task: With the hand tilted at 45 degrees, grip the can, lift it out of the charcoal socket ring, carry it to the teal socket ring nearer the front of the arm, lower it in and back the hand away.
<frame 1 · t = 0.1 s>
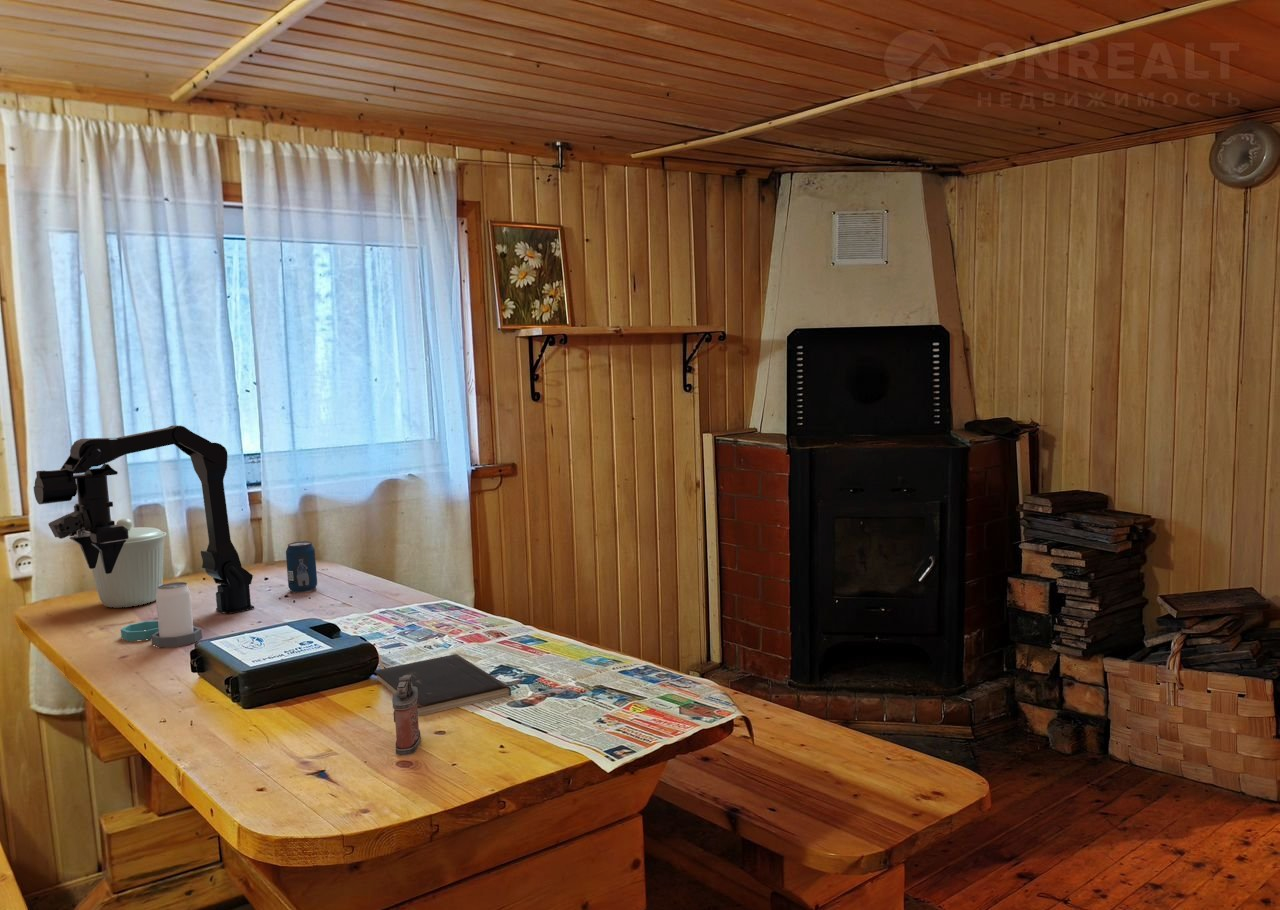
hand: (100, 570, 210), 15 cm above the table, tool pointing down, fingers open, 9 cm apart
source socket: (177, 641, 207), on the table
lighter: (408, 745, 145), on the table
hardcover book: (441, 691, 171), on the table
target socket: (146, 635, 213), on the table
soda can: (303, 590, 250), on the table
canister: (132, 604, 244), on the table
can: (177, 642, 207), resting in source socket
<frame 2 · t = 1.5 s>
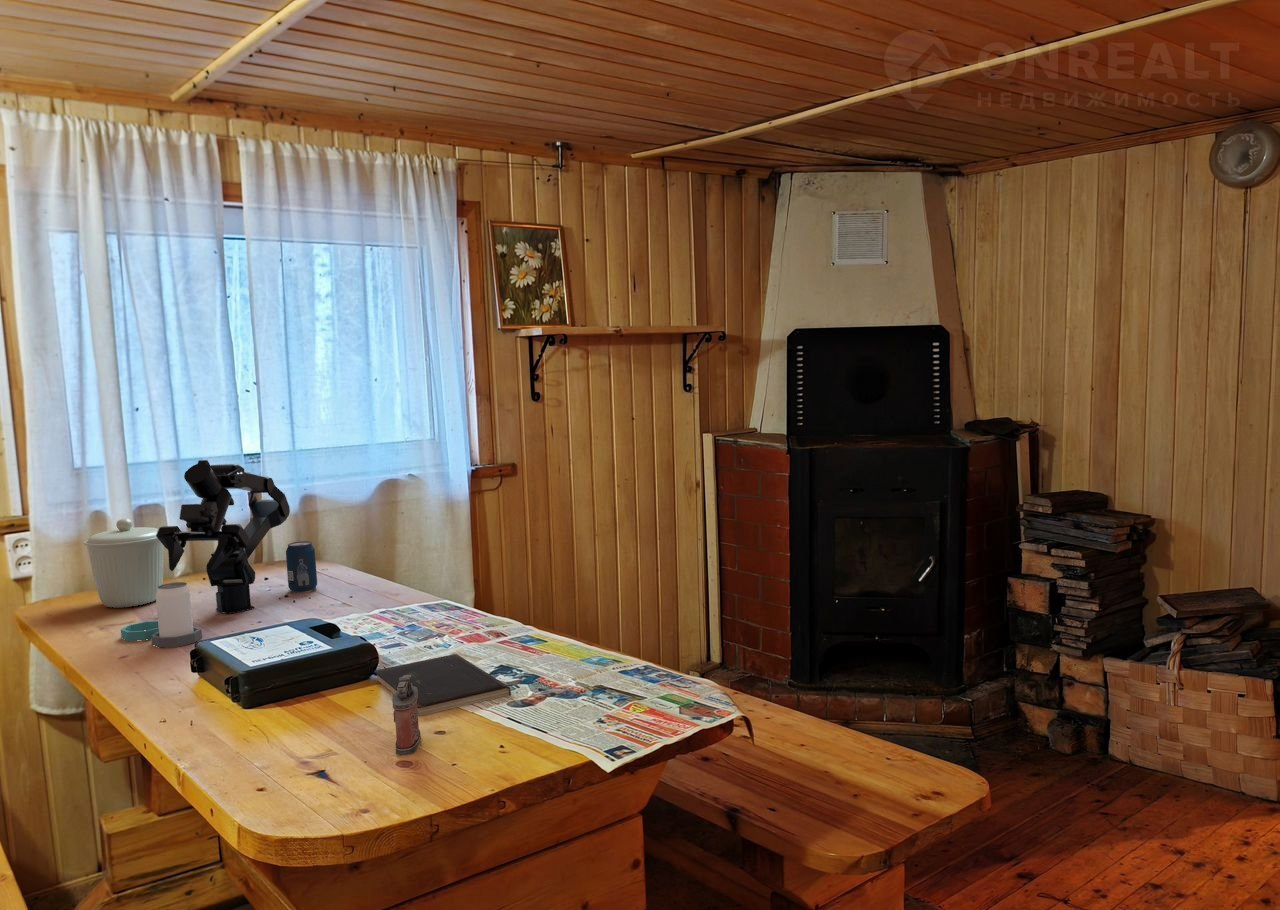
hand: (191, 569, 214), 14 cm above the table, tool tilted 45°, fingers open, 9 cm apart
nothing on the table moved.
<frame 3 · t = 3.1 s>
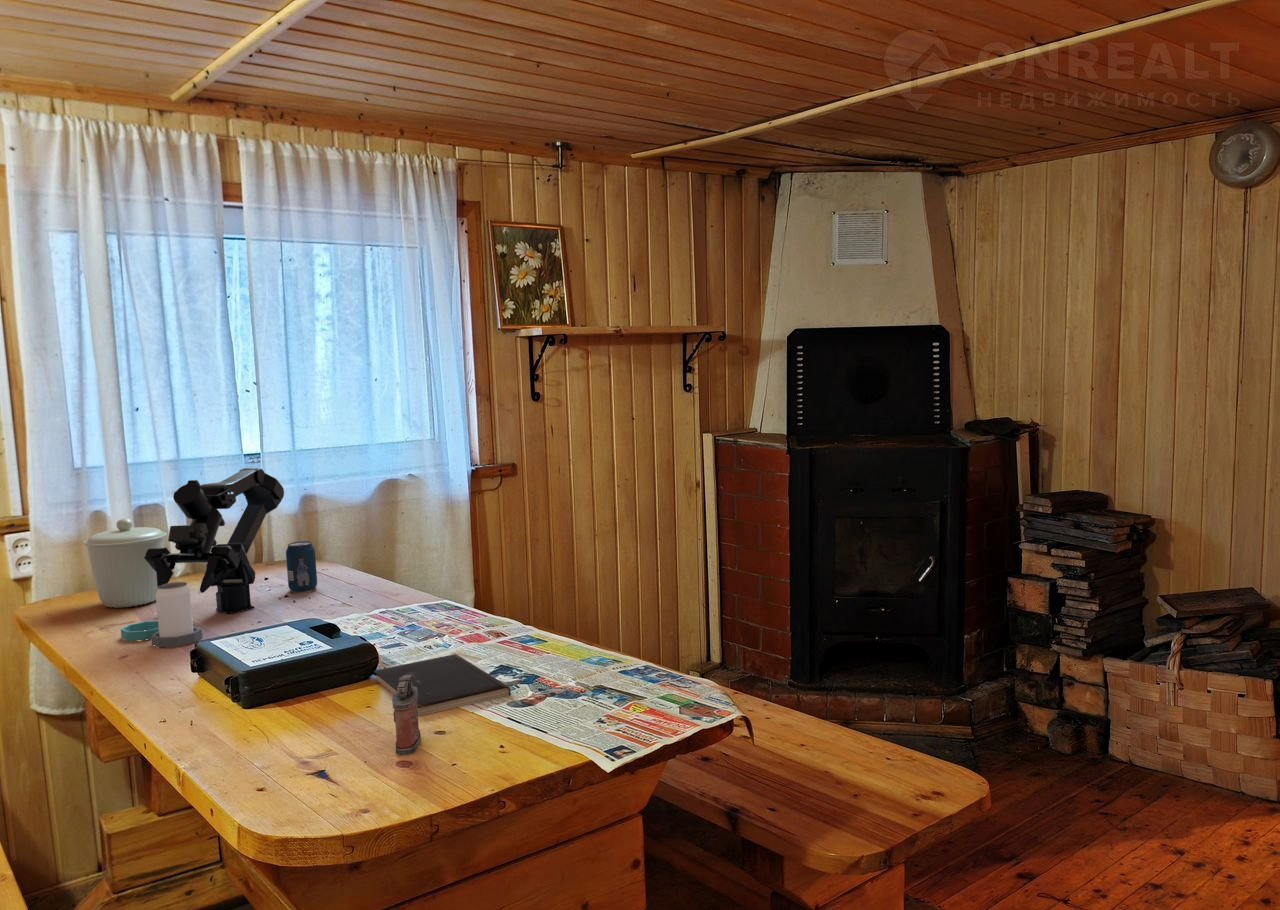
hand: (180, 592, 209), 10 cm above the table, tool tilted 45°, fingers open, 9 cm apart
nothing on the table moved.
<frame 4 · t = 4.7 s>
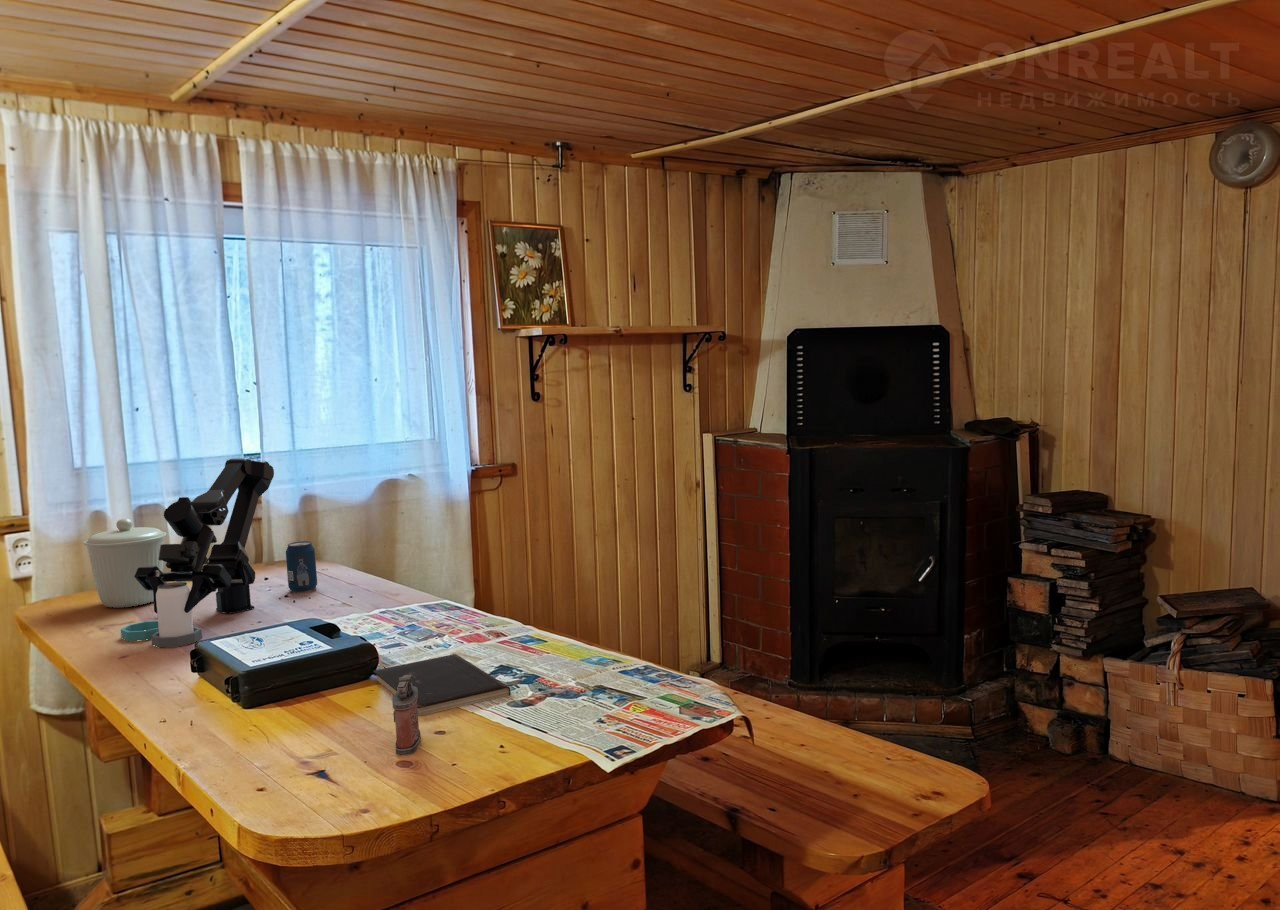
hand: (170, 612, 205), 7 cm above the table, tool tilted 45°, fingers closed on can, 6 cm apart
can: (177, 642, 207), resting in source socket, touching gripper
everything else where it was.
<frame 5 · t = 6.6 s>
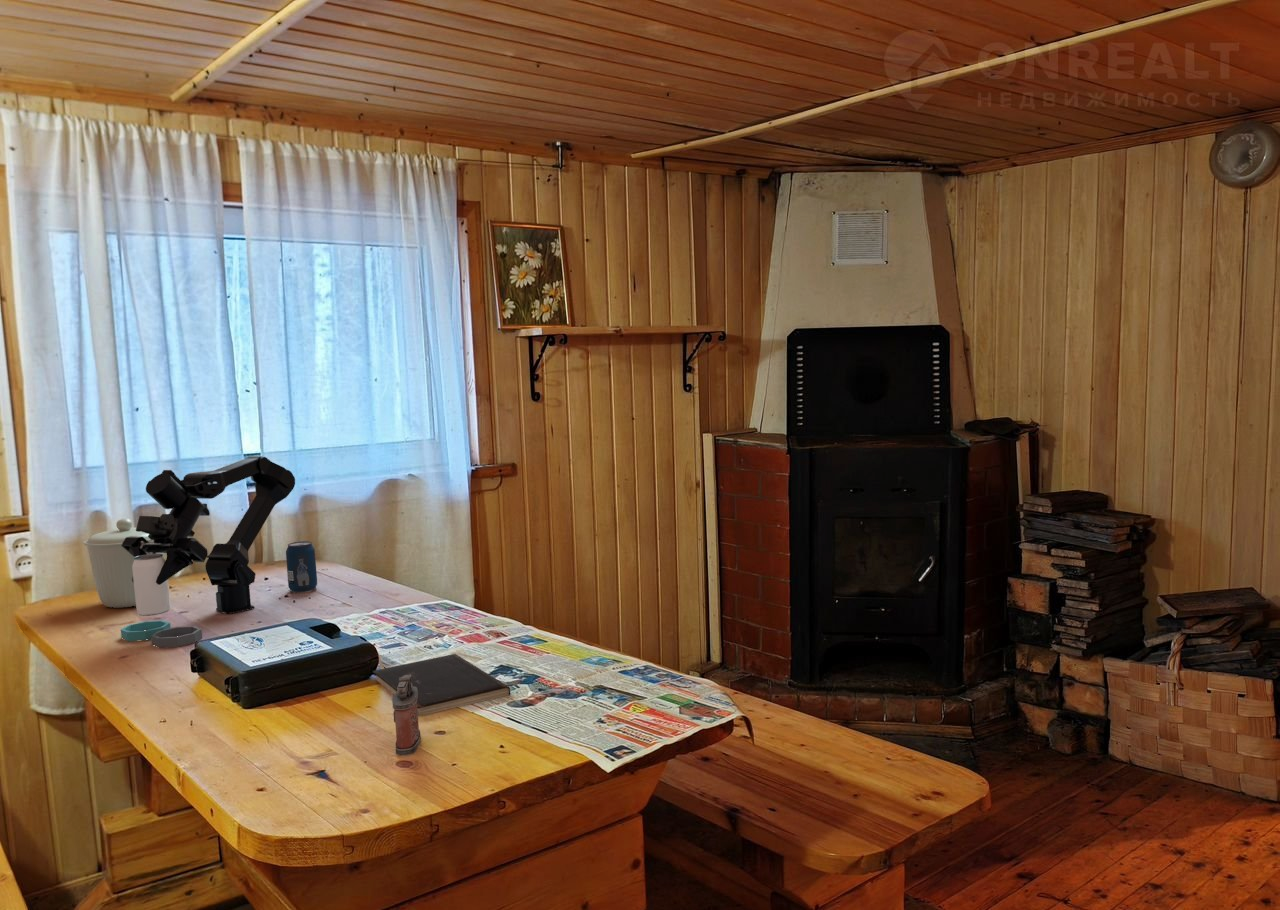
hand: (145, 583, 208), 12 cm above the table, tool tilted 45°, fingers closed on can, 6 cm apart
can: (154, 613, 210), point 5 cm above the table, touching gripper
everything else where it was.
when the fingers open (8 cm above the table, at t = 8.6 s): can stays where it is, resting in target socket.
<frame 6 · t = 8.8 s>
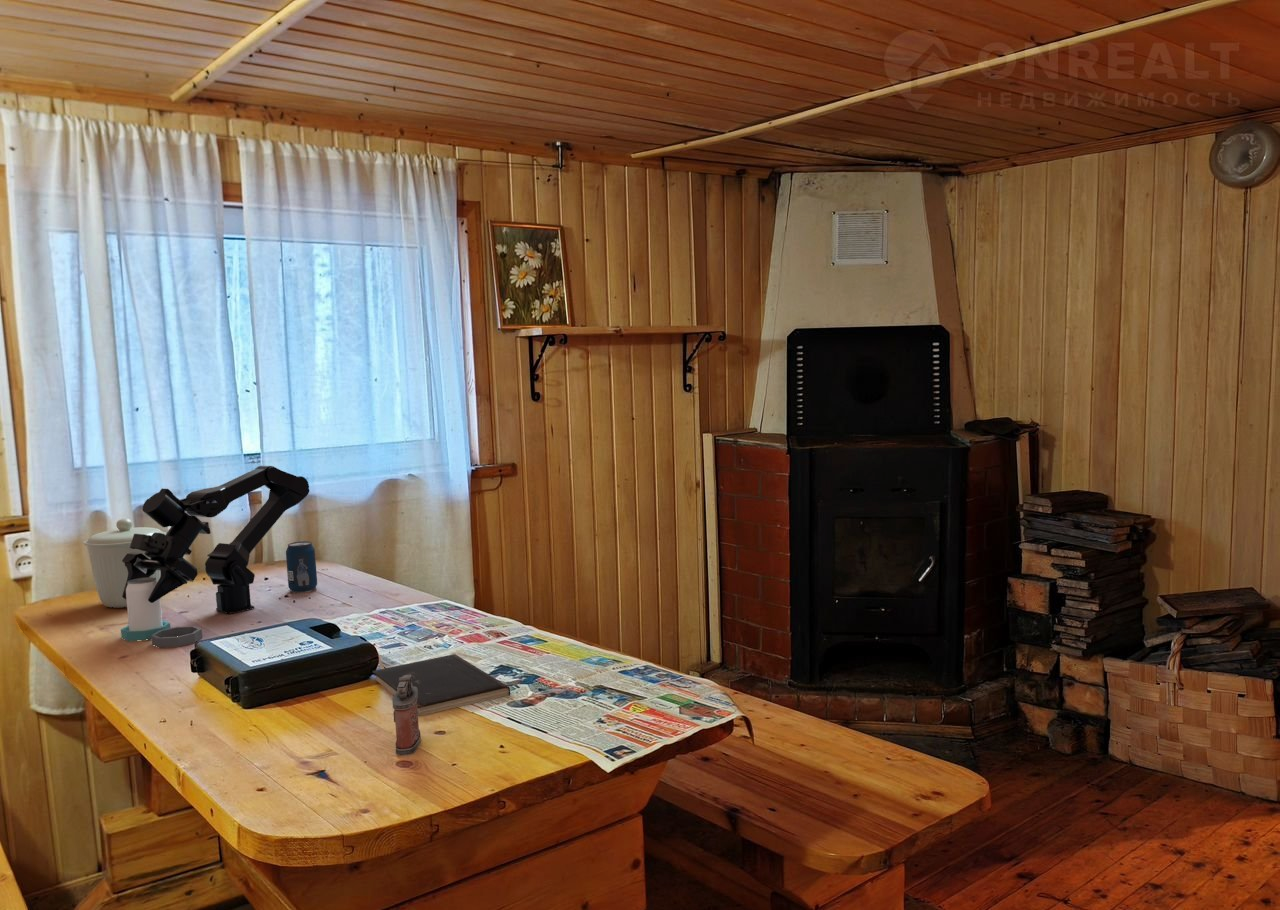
hand: (136, 600, 211), 8 cm above the table, tool tilted 45°, fingers open, 9 cm apart
can: (146, 636, 213), resting in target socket
everything else where it was.
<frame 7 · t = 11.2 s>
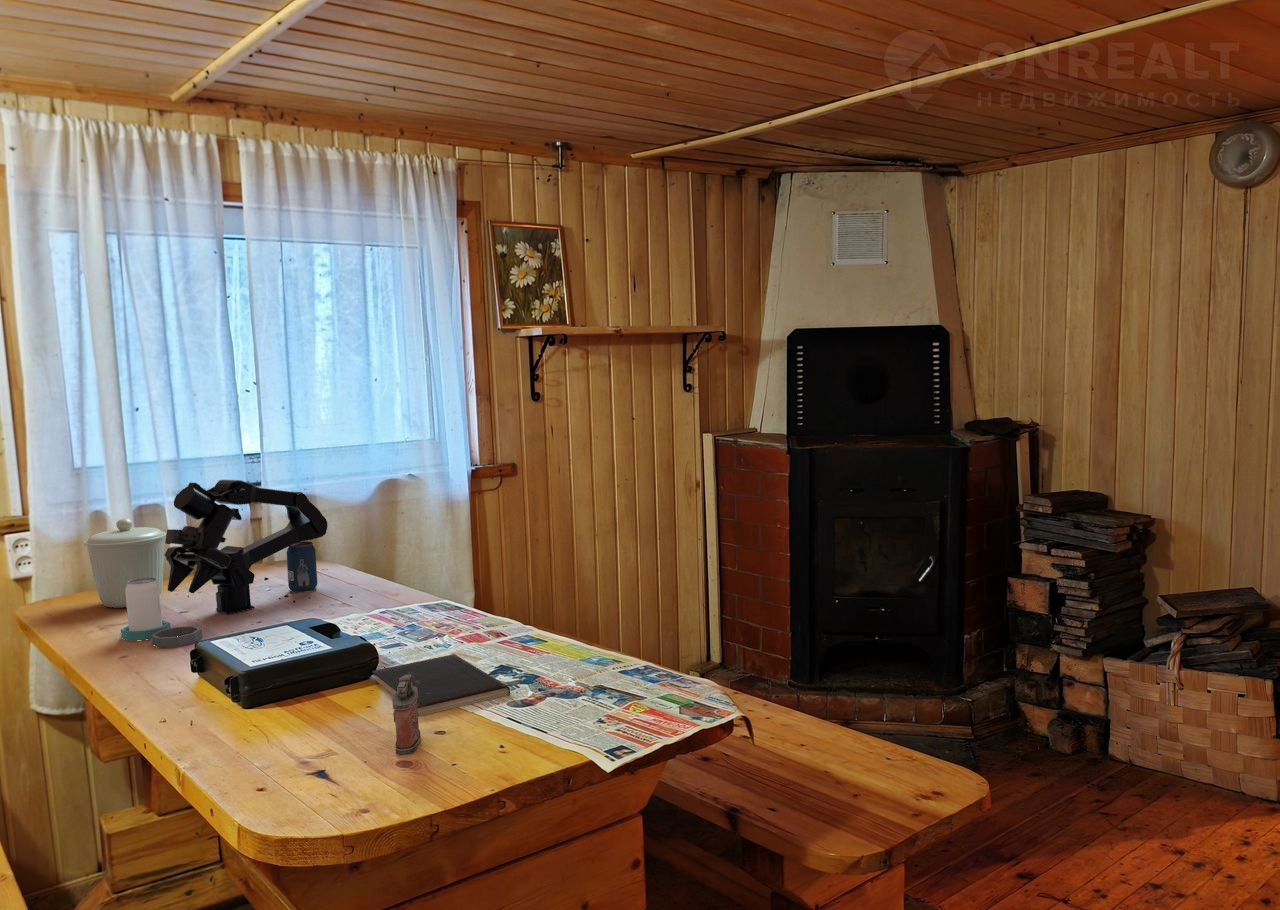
hand: (180, 591, 220), 7 cm above the table, tool tilted 35°, fingers open, 9 cm apart
soda can: (303, 591, 250), on the table, touching arm
everything else where it was.
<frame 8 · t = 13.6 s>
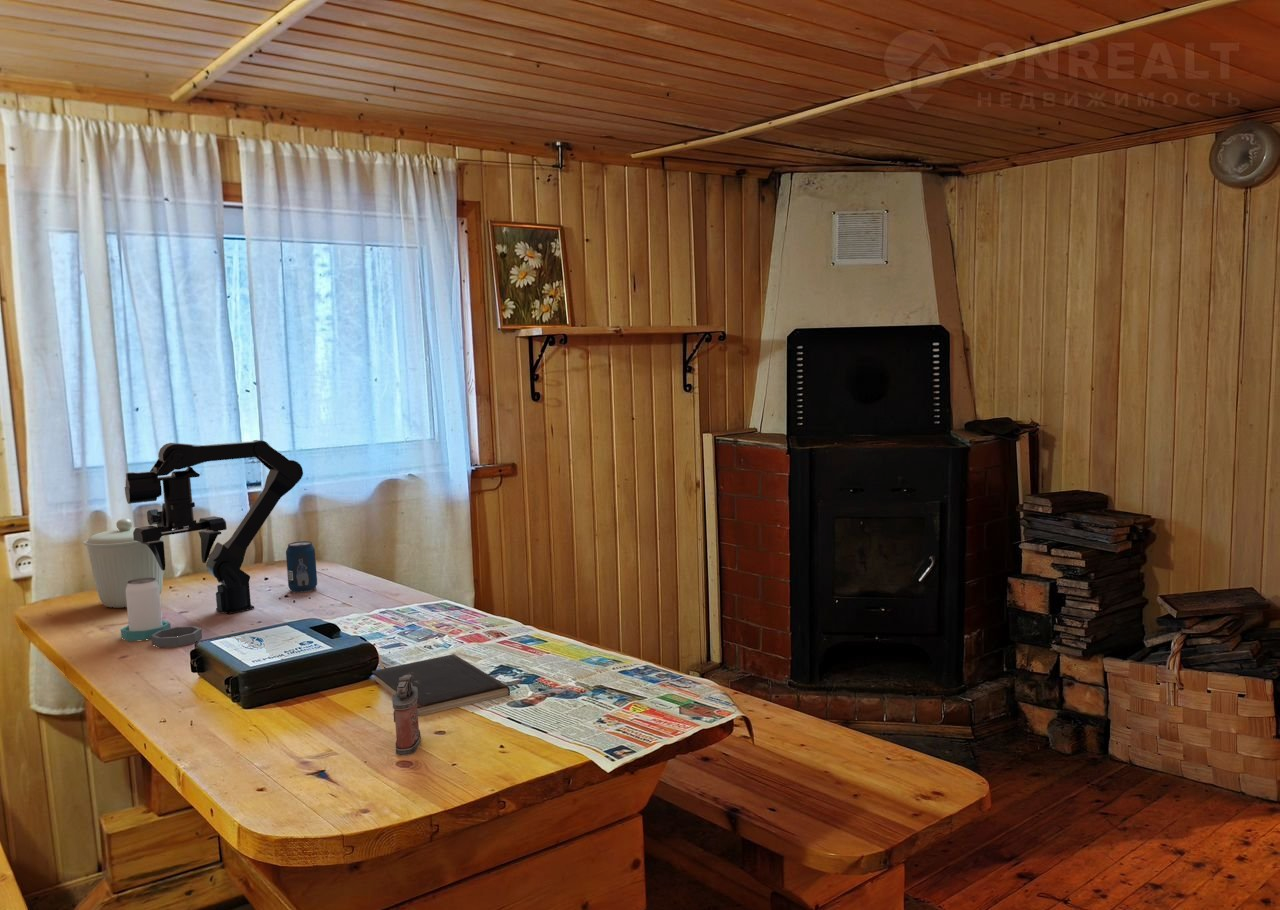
hand: (184, 566, 225), 12 cm above the table, tool pointing down, fingers open, 9 cm apart
soda can: (303, 590, 250), on the table
everything else where it was.
at the end: can 0.1 cm off-centre on the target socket, point 0.0 cm above the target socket's base; can tilted 0°; the gripper is holding nothing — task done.
